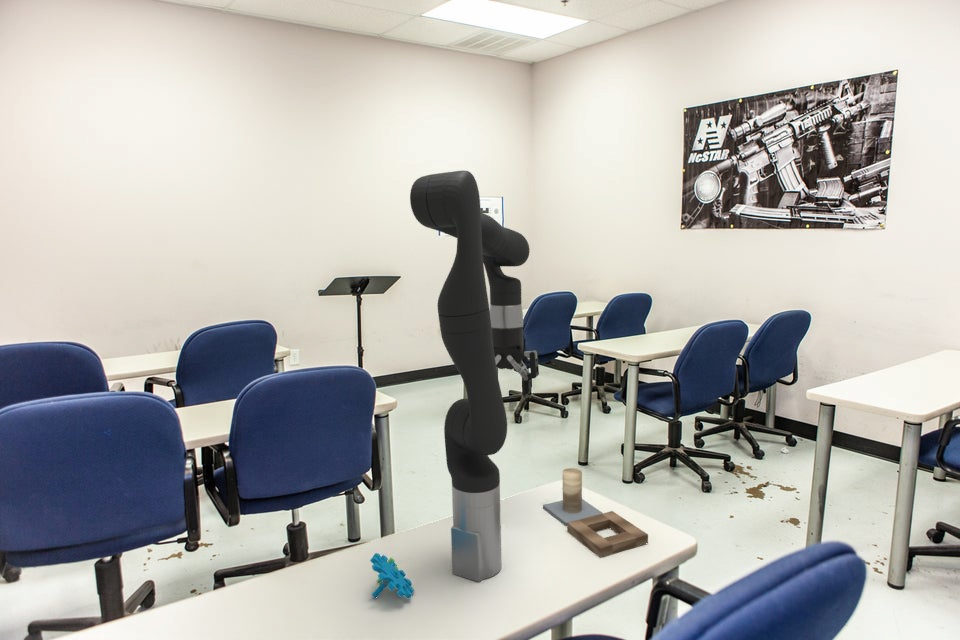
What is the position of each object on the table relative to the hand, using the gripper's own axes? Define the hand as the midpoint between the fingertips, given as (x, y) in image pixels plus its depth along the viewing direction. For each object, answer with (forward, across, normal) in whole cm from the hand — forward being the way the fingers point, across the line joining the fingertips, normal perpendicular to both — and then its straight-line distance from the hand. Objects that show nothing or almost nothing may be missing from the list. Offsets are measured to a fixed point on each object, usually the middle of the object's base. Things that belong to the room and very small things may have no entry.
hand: (507, 394), depth 137 cm
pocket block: (+28, +23, -6) cm, 37 cm away
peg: (+27, +14, +4) cm, 31 cm away
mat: (+28, +14, +4) cm, 32 cm away
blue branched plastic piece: (+28, -10, -38) cm, 48 cm away
